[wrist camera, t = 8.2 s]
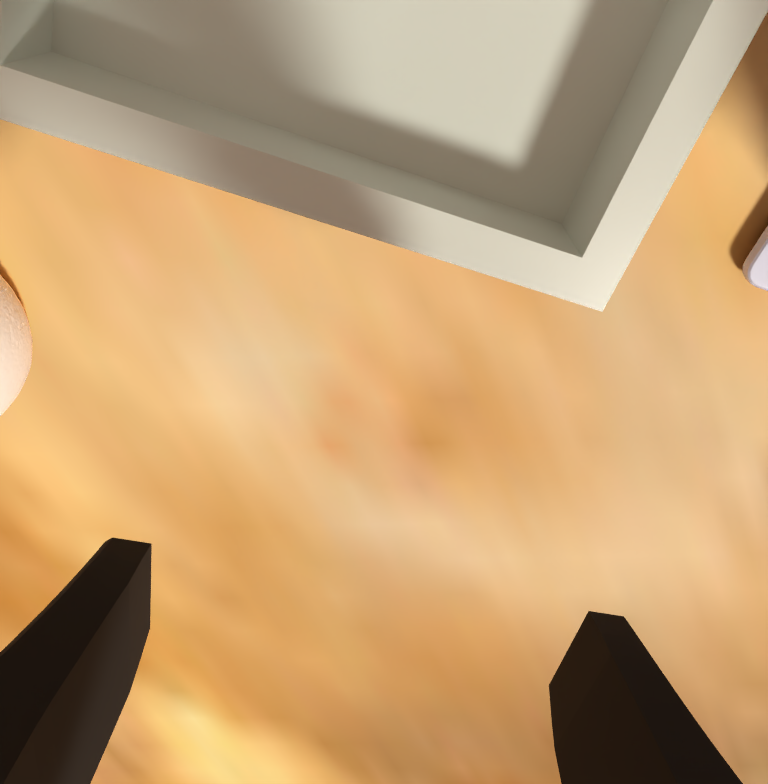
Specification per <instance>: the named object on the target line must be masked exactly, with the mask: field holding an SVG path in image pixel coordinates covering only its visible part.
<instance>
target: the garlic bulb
mask: <svg viewBox="0 0 768 784" xmlns="http://www.w3.org/2000/svg"><path fill="white" fill-rule="evenodd" d="M31 362H32V335H31V330H30V326H29V321H28V319H27V316H26V313H25V310H24V308H23V306H22V304H21V302H20V300H19V299H18V298H17V296H16V294H15V292H14V291H13V289H12V288H11V287H10V285H9V284H8V283H7V282H6V281H5V280H4V278H3V277H2V276H1V275H0V416H1V415H2V414H3V413H4V412H5V411H6V409H8V407H9V406H10V405H11V404H12V402H13V401H14V400H15V399H16V397H17V396H18V394H19V393H20V391H21V389H22V387H23V385H24V383H25V381H26V378H27V376H28V373H29V370H30V366H31Z"/></svg>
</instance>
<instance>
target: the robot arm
mask: <svg viewBox="0 0 768 784" xmlns="http://www.w3.org/2000/svg"><path fill="white" fill-rule="evenodd" d="M743 275H744V277H745V278H746V280H748V281H749V282H750V283H751V284H752V285H754V286H756V287H758V288H761V289H764V290H767V291H768V226H767V227H766V229H765V230H764V232H763V233H762V235H761V236H760V238H759V239H758V241H757V243H756V244H755V246H754V247H753V249H752V250H751V252H750V253H749V255H748V256H747V258H746V260H745V262H744V264H743ZM150 598H151V544H150V543H144V542H137V541H131V540H124V539H118V538H111V539H109V540H107V541H106V542H105V543H104V544H103V545H102V546H101V547H100V548H99V550H98V551H97V552H96V553H95V554H94V555H93V557H92V558H91V559H90V560H89V561H88V562H87V563H86V565H85V566H84V567H83V568H82V569H81V570H80V571H79V572H78V574H77V575H76V576H75V577H74V578H73V579H72V580H71V581H70V582H69V583H68V584H67V586H66V587H65V588H64V589H63V590H62V591H61V592H60V593H59V594H58V595H57V596H56V597H55V598H54V599H53V600H52V601H51V602H50V603H49V605H48V606H47V607H46V608H45V609H44V610H43V611H42V612H41V613H40V614H39V615H38V616H37V617H36V618H35V619H34V620H33V621H32V622H31V623H30V624H29V625H28V626H27V627H26V628H25V629H24V630H23V631H22V632H21V633H20V634H19V635H18V636H17V637H16V638H15V639H14V640H13V641H12V642H11V643H10V644H9V645H8V646H7V647H5V648H4V649H3V650H2V651H1V652H0V784H90V783H91V781H92V778H93V776H94V774H95V771H96V769H97V767H98V765H99V762H100V760H101V758H102V755H103V753H104V751H105V748H106V746H107V744H108V742H109V739H110V737H111V735H112V732H113V730H114V728H115V725H116V723H117V721H118V718H119V716H120V714H121V711H122V709H123V707H124V704H125V702H126V700H127V697H128V695H129V692H130V690H131V687H132V684H133V680H134V677H135V674H136V671H137V668H138V665H139V662H140V659H141V655H142V652H143V649H144V646H145V642H146V639H147V636H148V633H149V629H150ZM549 691H550V704H551V717H552V727H553V737H554V746H555V753H556V758H557V763H558V768H559V773H560V778H561V783H562V784H743V783H742V782H741V781H740V779H739V778H738V777H737V776H736V774H735V773H734V772H733V770H732V769H731V768H730V766H729V765H728V764H727V762H726V761H725V760H724V758H723V757H722V756H721V754H720V753H719V752H718V750H717V749H716V748H715V746H714V745H713V743H712V742H711V741H710V739H709V738H708V737H707V735H706V734H705V733H704V731H703V730H702V728H701V727H700V726H699V724H698V723H697V721H696V720H695V719H694V717H693V716H692V714H691V713H690V712H689V710H688V709H687V707H686V706H685V704H684V703H683V702H682V700H681V699H680V697H679V696H678V694H677V693H676V692H675V690H674V689H673V687H672V686H671V684H670V683H669V681H668V680H667V679H666V677H665V676H664V674H663V673H662V671H661V670H660V668H659V667H658V665H657V664H656V662H655V661H654V660H653V658H652V657H651V655H650V654H649V652H648V651H647V649H646V648H645V646H644V645H643V643H642V642H641V641H640V639H639V638H638V636H637V635H636V633H635V632H634V630H633V629H632V628H631V626H630V625H629V623H628V622H627V620H626V619H625V618H624V617H623V616H617V615H610V614H604V613H597V612H591V611H589V612H588V614H587V615H586V617H585V619H584V621H583V623H582V625H581V627H580V628H579V630H578V632H577V634H576V636H575V638H574V640H573V642H572V643H571V645H570V647H569V649H568V651H567V653H566V655H565V656H564V658H563V660H562V662H561V664H560V666H559V668H558V669H557V671H556V673H555V675H554V677H553V679H552V681H551V683H550V684H549Z"/></svg>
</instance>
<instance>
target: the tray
mask: <svg viewBox="0 0 768 784" xmlns="http://www.w3.org/2000/svg"><path fill="white" fill-rule="evenodd" d="M767 12H768V0H0V119H1V120H5V121H8V122H11V123H14V124H17V125H20V126H23V127H26V128H30V129H33V130H36V131H39V132H42V133H45V134H48V135H51V136H55V137H58V138H61V139H64V140H67V141H70V142H73V143H76V144H80V145H83V146H86V147H89V148H92V149H95V150H98V151H101V152H105V153H108V154H111V155H114V156H117V157H120V158H123V159H126V160H130V161H133V162H136V163H139V164H142V165H145V166H148V167H151V168H155V169H158V170H161V171H164V172H167V173H170V174H173V175H176V176H180V177H183V178H186V179H189V180H192V181H195V182H198V183H202V184H205V185H208V186H211V187H214V188H217V189H220V190H223V191H227V192H230V193H233V194H236V195H239V196H242V197H245V198H248V199H252V200H255V201H258V202H261V203H264V204H267V205H270V206H273V207H277V208H280V209H283V210H286V211H289V212H292V213H295V214H298V215H302V216H305V217H308V218H311V219H314V220H317V221H320V222H323V223H327V224H330V225H333V226H336V227H339V228H342V229H345V230H348V231H352V232H355V233H358V234H361V235H364V236H367V237H370V238H373V239H377V240H380V241H383V242H386V243H389V244H392V245H395V246H398V247H402V248H405V249H408V250H411V251H414V252H417V253H420V254H423V255H427V256H430V257H433V258H436V259H439V260H442V261H445V262H449V263H452V264H455V265H458V266H461V267H464V268H467V269H470V270H474V271H477V272H480V273H483V274H486V275H489V276H492V277H495V278H499V279H502V280H505V281H508V282H511V283H514V284H517V285H520V286H524V287H527V288H530V289H533V290H536V291H539V292H542V293H545V294H549V295H552V296H555V297H558V298H561V299H564V300H567V301H570V302H574V303H577V304H580V305H583V306H586V307H589V308H592V309H595V310H599V311H603V310H604V308H605V306H606V304H607V302H608V301H609V299H610V297H611V295H612V293H613V291H614V290H615V288H616V286H617V284H618V282H619V281H620V279H621V277H622V275H623V273H624V271H625V270H626V268H627V266H628V264H629V262H630V261H631V259H632V257H633V255H634V253H635V252H636V250H637V248H638V246H639V244H640V242H641V241H642V239H643V237H644V235H645V233H646V232H647V230H648V228H649V226H650V224H651V222H652V221H653V219H654V217H655V215H656V213H657V212H658V210H659V208H660V206H661V204H662V202H663V201H664V199H665V197H666V195H667V193H668V192H669V190H670V188H671V186H672V184H673V182H674V181H675V179H676V177H677V175H678V173H679V172H680V170H681V168H682V166H683V164H684V163H685V161H686V159H687V157H688V155H689V153H690V152H691V150H692V148H693V146H694V144H695V143H696V141H697V139H698V137H699V135H700V133H701V132H702V130H703V128H704V126H705V124H706V123H707V121H708V119H709V117H710V115H711V113H712V112H713V110H714V108H715V106H716V104H717V103H718V101H719V99H720V97H721V95H722V93H723V92H724V90H725V88H726V86H727V84H728V83H729V81H730V79H731V77H732V75H733V74H734V72H735V70H736V68H737V66H738V64H739V63H740V61H741V59H742V57H743V55H744V54H745V52H746V50H747V48H748V46H749V44H750V43H751V41H752V39H753V37H754V35H755V34H756V32H757V30H758V28H759V26H760V24H761V23H762V21H763V19H764V17H765V15H766V14H767Z"/></svg>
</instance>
